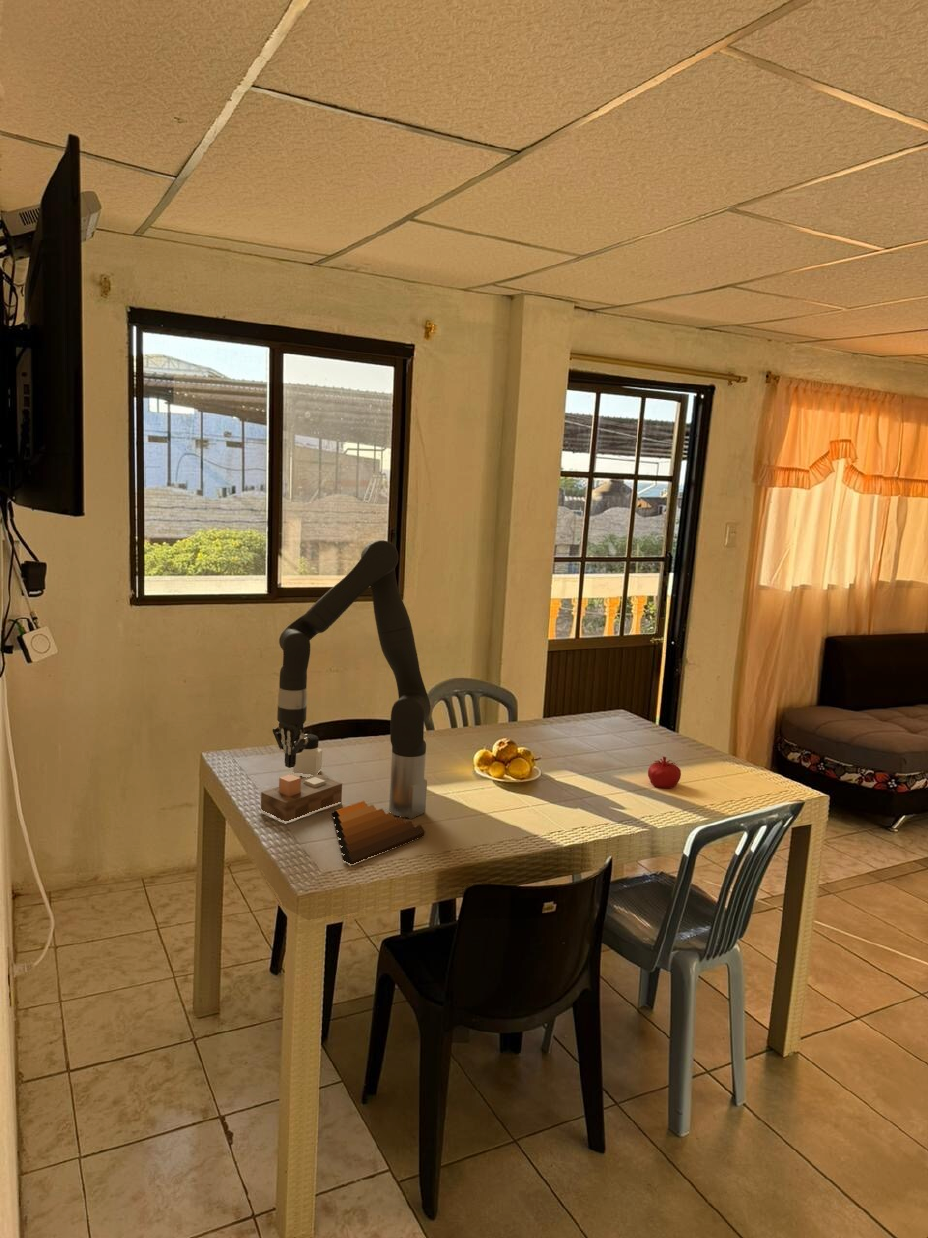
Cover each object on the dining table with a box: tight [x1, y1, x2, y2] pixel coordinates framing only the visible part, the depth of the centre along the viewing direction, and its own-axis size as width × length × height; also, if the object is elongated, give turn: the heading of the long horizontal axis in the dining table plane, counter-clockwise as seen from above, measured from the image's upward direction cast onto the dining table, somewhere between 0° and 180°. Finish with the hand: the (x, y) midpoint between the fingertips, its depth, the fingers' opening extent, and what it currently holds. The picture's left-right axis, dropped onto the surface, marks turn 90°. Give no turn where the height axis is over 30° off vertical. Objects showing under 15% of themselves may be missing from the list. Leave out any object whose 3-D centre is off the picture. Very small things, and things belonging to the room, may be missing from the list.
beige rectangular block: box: [305, 777, 325, 788], centre depth 238 cm, size 4×4×6 cm
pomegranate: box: [647, 756, 682, 789], centre depth 270 cm, size 10×10×9 cm
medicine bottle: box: [292, 733, 323, 775], centre depth 261 cm, size 7×7×12 cm
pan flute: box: [331, 800, 426, 864], centre depth 220 cm, size 25×3×25 cm
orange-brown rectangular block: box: [278, 773, 302, 797], centre depth 231 cm, size 4×4×6 cm
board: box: [260, 774, 343, 821], centre depth 235 cm, size 10×20×6 cm, turn 142°
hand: (289, 766), depth 230 cm, fingers closed
